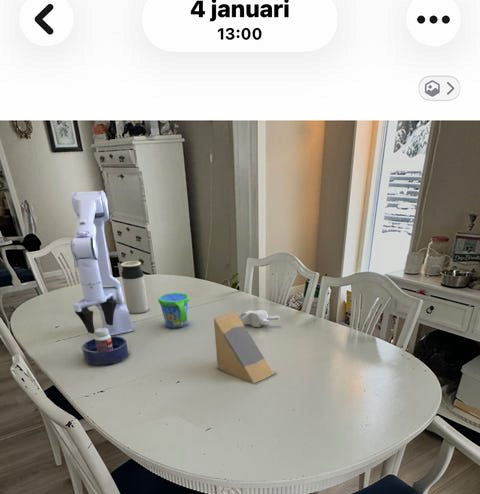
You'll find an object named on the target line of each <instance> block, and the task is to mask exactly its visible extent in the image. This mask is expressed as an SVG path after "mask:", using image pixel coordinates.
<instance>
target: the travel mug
mask: <svg viewBox="0 0 480 494" xmlns="http://www.w3.org/2000/svg"><path fill="white" fill-rule="evenodd" d="M120 266H121V268H122V271H121V279H122V286H123V291H124V297H125V302H126V306H127V308H128V311H129V314H142V313H145V312H148V311H149V306H148V305H149V304H148V298H147V292H146V291H147V290H146V284H145V278H144V271H143V270H142V268H141V261H138V260H130V261H123V262H121V263H120Z"/></svg>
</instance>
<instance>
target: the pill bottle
mask: <svg viewBox="0 0 480 494" xmlns="http://www.w3.org/2000/svg"><path fill="white" fill-rule="evenodd" d="M94 338H95V342H96V346H97V351H98V352H101V351H109V350H113V346H112V341H111V336H110V335H109V332H108V329H107V328H103V327H98V328H96V329H94Z"/></svg>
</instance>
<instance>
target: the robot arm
mask: <svg viewBox="0 0 480 494" xmlns="http://www.w3.org/2000/svg"><path fill="white" fill-rule="evenodd" d="M71 204H72V209H73V211H74V213H75V214H76V217H77V218H78V219H79V220H77V221H76V223H75V225H74V235H73V236H74V237H73V238H72V240H70V242H69V244H70V245H69V247H70V253H71V256H72V259H73V261H74V265H75V267H76V268H77V271H78V276H79V281H80V285H81V290H82V294H83V299H80V300H79V301H77V302H76V303H73V304H72V307H73V311H74V313H75V314H76V316H78V318H79V319H80V320H81V321H82V323H83V325H84V327H85V329H86V331H87V333H89V334H95V325H94V311H93V310H90V309H89V308H92V307H94V306H95V307H97V309H98V311H99V315H100V321H101V325H102V328H107V329H108V332H109V335H110V336H117V335H121V334H125V333H126V334H127V333H130V332H133V328H132V322H131V316H130V312H129V311H128V308H127V304H125V303H124V301H125V300H124V292H123V291H124V290H123V288H122V284H121V283H122V282H121V281H120V280H118V279H117V278H116V277H114V276H113V275H112V273H111V266H110V265H111V264H110V259H109V252H108V247H107V241H106V233H105V223H106V222H107V221H108V220H109V219H110V211H109V206H108V205H109V204H108V198H107V195H106V193H105V191H104V190H97V191H73V192H72V193H71Z"/></svg>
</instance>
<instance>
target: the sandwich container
mask: <svg viewBox="0 0 480 494" xmlns="http://www.w3.org/2000/svg"><path fill="white" fill-rule="evenodd" d="M213 326H214V327H213V328H214V338H215V340H214V341H215V349H216V350H215V351H216V363H217V369H218V370H221V371H223V372H225V373H228V374H230V375H232V376H235V377H237V378H239V379H242V380H245V381H247V382H249V383H252V384H255V383H258V382H260V381H263V380H266V379H267V378H269V377H271V376H273V375H275V372H274V371H273V369H272V368H271V366H270V365H269V363H268V361H267V360H266V359H265V357H264V355H263V353H262V351H261V350H260V349H259V347H258V346H257V344H256V343H255V340H254V339H253V338H252V335H251V334H250V333H249V331H248V330H247V328H246V326H245V324H243V323H242V321H241V319H240V317H239V314H238V312H237V311H232V312H229V313H226V314H223V315H220V316H216V317H214V318H213Z"/></svg>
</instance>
